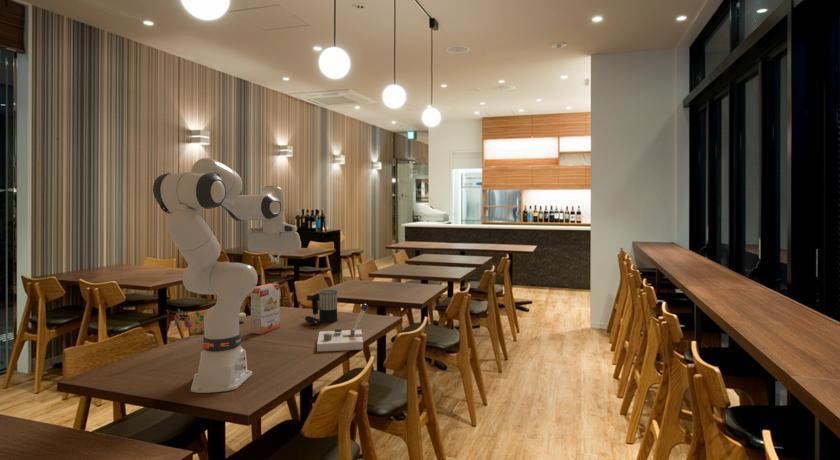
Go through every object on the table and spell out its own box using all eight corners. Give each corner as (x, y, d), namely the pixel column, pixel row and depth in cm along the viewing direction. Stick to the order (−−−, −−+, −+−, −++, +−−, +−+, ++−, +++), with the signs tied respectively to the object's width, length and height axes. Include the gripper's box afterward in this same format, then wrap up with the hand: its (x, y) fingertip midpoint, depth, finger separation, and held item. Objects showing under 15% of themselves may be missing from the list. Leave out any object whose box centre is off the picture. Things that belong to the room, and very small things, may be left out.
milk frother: (340, 319, 261) (340, 289, 260) (331, 326, 246) (330, 295, 245) (313, 318, 263) (312, 289, 262) (302, 326, 247) (301, 295, 247)
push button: (331, 339, 210) (331, 335, 210) (323, 339, 210) (323, 335, 209) (331, 337, 213) (331, 333, 213) (323, 337, 213) (323, 333, 213)
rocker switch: (341, 332, 218) (341, 328, 218) (334, 332, 217) (334, 329, 218) (341, 331, 222) (341, 328, 222) (334, 331, 222) (334, 328, 222)
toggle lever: (348, 333, 215) (363, 303, 215) (348, 331, 218) (362, 302, 218) (354, 336, 215) (369, 306, 216) (354, 334, 218) (369, 305, 219)
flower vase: (244, 338, 254) (181, 339, 224) (229, 328, 260) (165, 328, 230) (252, 316, 253) (190, 314, 223) (237, 306, 260) (174, 303, 230)
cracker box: (261, 335, 232) (260, 288, 230) (250, 333, 234) (249, 287, 232) (280, 327, 245) (279, 283, 243) (270, 326, 247) (269, 282, 246)
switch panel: (363, 349, 208) (362, 341, 207) (317, 351, 205) (316, 343, 205) (361, 336, 227) (361, 329, 227) (319, 338, 225) (319, 331, 225)
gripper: (245, 228, 201) (246, 263, 202) (299, 227, 204) (300, 262, 205) (248, 227, 208) (249, 262, 208) (300, 226, 210) (301, 260, 211)
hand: (275, 262), depth 207 cm, fingers closed
